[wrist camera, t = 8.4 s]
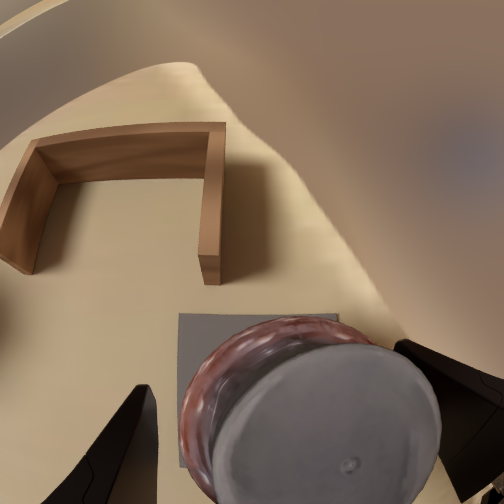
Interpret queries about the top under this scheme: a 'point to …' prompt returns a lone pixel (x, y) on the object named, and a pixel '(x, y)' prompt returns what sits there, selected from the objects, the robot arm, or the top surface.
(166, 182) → the top surface
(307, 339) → the supplement bottle
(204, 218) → the crate
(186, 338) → the mat
